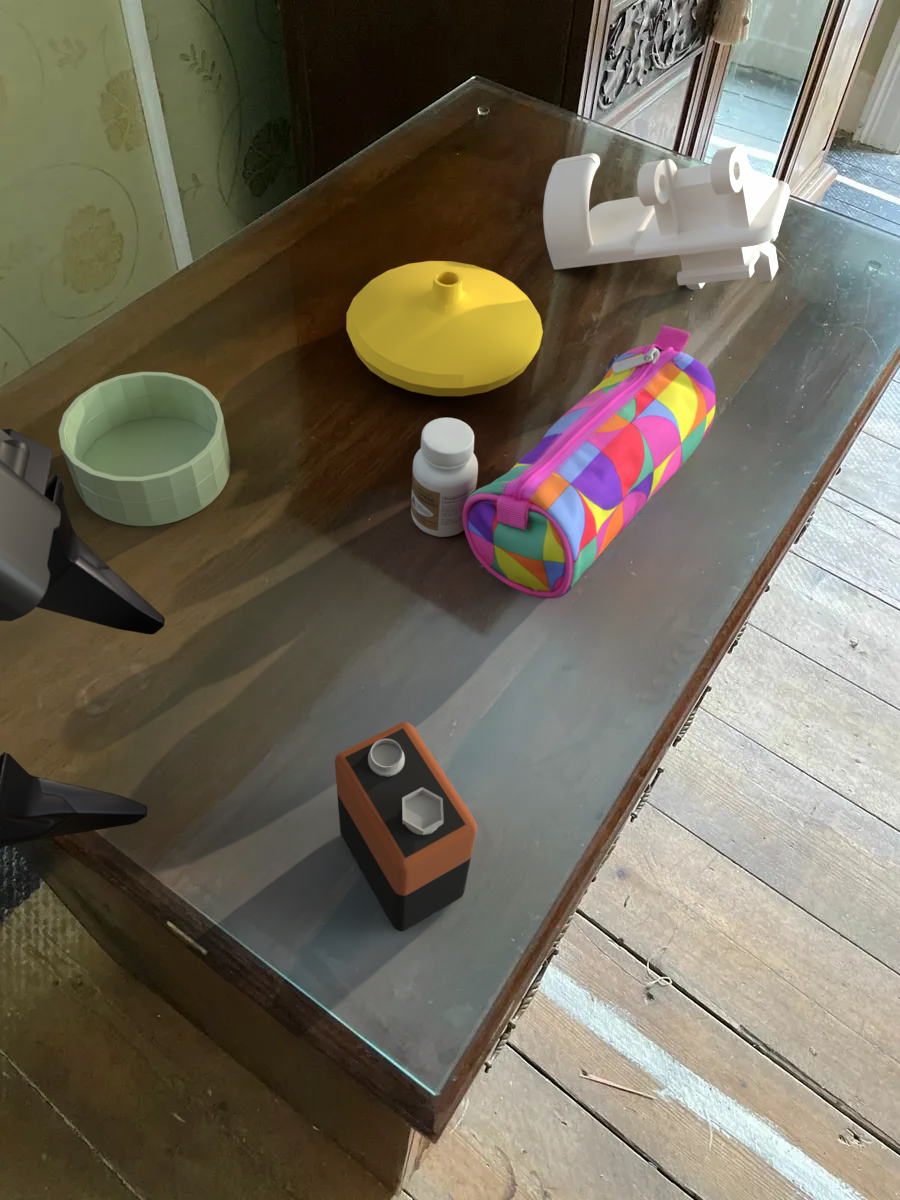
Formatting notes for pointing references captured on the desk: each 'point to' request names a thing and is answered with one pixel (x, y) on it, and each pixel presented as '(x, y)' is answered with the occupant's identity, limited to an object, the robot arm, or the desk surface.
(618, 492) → the pencil case
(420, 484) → the pill bottle
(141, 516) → the bowl
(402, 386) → the vase
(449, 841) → the battery
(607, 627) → the desk surface
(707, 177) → the tape dispenser
